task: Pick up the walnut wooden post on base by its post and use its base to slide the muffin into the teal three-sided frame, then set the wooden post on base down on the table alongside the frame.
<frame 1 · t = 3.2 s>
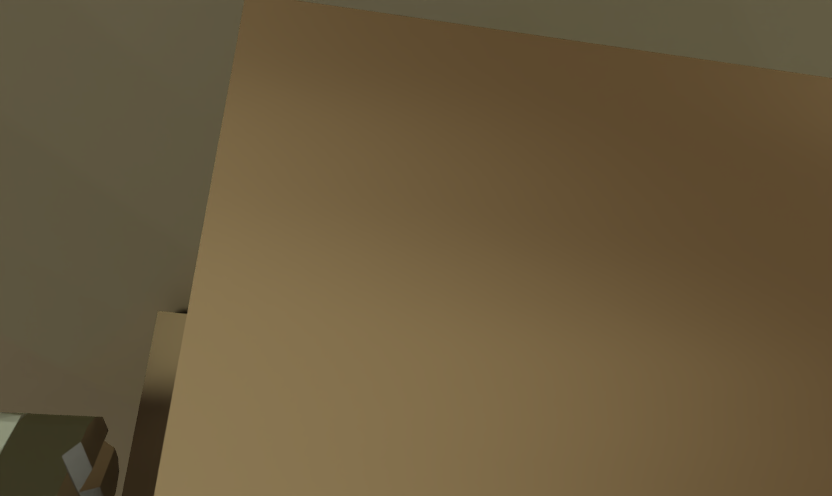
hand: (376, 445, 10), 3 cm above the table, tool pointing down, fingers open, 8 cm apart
wooden post on base: (436, 282, 8), point 3 cm above the table, tilted 36°
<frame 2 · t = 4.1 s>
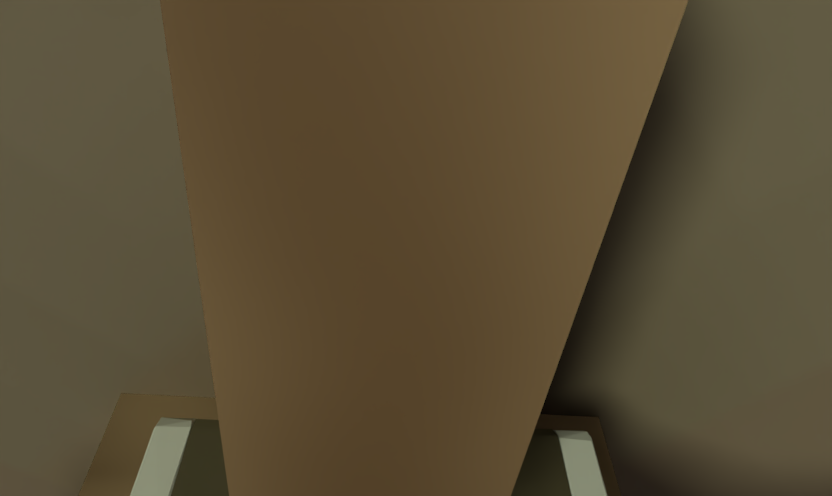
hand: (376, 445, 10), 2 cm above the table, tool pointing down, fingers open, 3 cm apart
wooden post on base: (386, 180, 9), on the table, touching gripper
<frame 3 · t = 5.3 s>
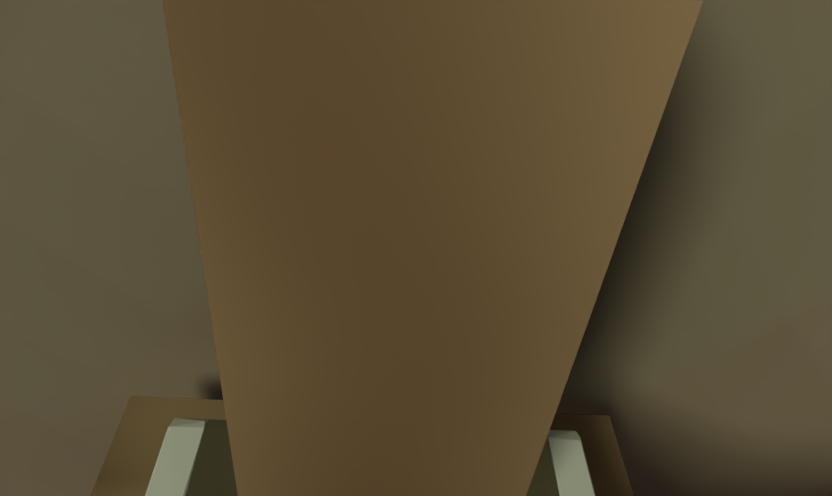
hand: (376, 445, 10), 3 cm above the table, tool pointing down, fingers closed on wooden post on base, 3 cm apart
wooden post on base: (394, 182, 9), point 1 cm above the table, touching gripper
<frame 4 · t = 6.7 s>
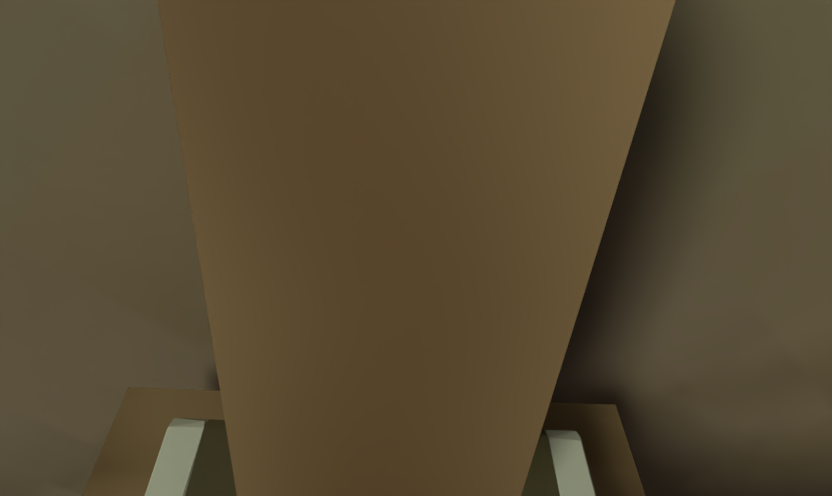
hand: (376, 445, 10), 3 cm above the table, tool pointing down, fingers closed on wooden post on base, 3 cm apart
wooden post on base: (392, 159, 9), point 1 cm above the table, touching gripper
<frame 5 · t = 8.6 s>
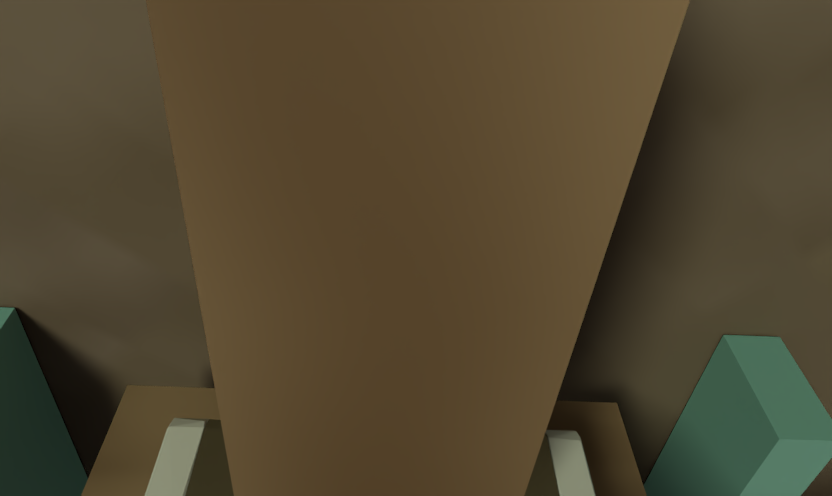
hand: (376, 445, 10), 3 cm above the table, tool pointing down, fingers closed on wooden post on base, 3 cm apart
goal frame: (371, 488, 17), on the table
wooden post on base: (393, 158, 9), point 1 cm above the table, touching gripper, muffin
when the fingers open (3 cm above the table, at t = 14.7 s): wooden post on base stays where it is, on the table.
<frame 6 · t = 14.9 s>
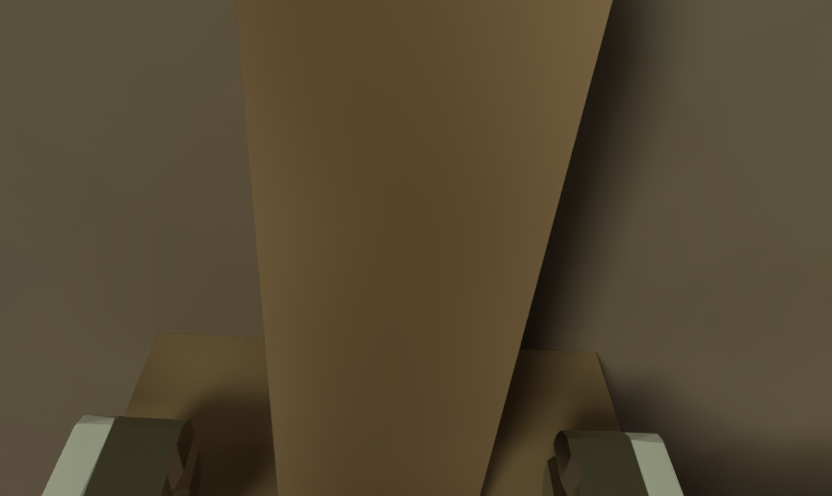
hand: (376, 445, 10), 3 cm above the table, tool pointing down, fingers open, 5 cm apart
wooden post on base: (398, 121, 10), on the table
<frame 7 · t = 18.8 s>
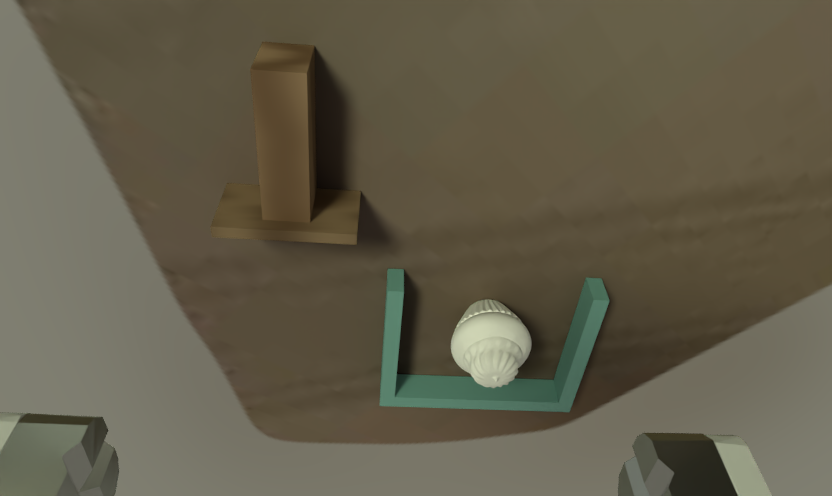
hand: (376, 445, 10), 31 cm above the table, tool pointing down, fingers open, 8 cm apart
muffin: (486, 311, 52), on the table
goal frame: (484, 328, 53), on the table
wooden post on base: (291, 120, 41), on the table
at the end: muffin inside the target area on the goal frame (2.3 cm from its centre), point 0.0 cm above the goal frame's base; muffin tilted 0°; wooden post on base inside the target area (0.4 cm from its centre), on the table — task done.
